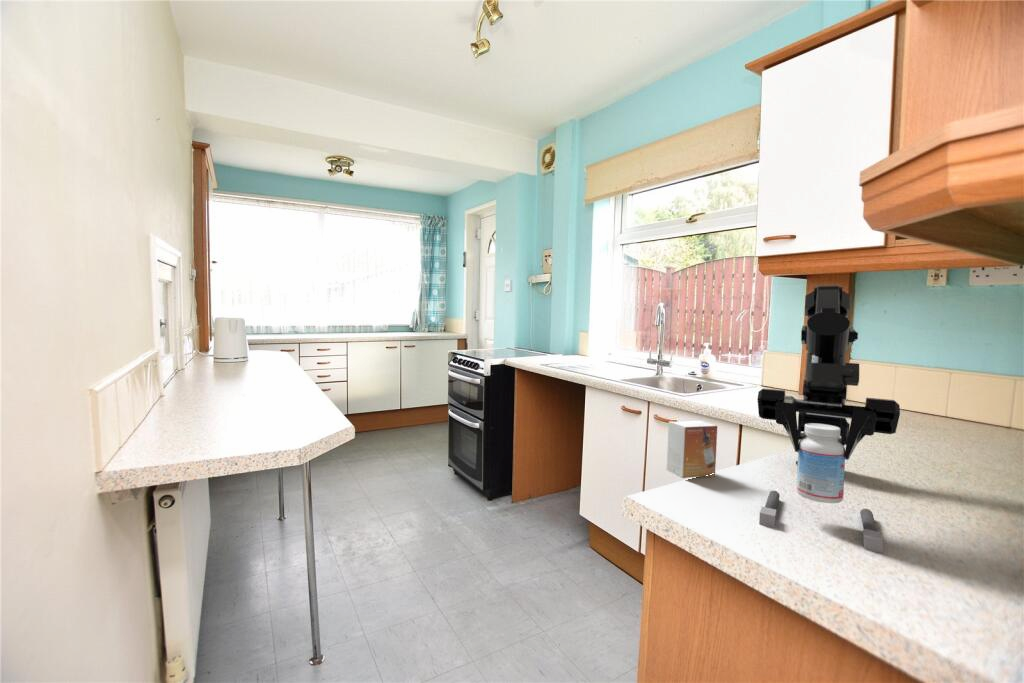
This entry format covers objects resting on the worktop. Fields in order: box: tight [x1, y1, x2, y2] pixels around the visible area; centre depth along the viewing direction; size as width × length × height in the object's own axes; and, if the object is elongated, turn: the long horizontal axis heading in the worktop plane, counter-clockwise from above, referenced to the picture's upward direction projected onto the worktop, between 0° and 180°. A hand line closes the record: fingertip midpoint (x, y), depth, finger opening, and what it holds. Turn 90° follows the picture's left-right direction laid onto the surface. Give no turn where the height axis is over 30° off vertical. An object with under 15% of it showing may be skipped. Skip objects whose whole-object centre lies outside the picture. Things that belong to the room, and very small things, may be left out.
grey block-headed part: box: [859, 508, 884, 554], centre depth 68 cm, size 13×2×2 cm, turn 145°
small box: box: [666, 419, 718, 479], centre depth 94 cm, size 8×6×10 cm
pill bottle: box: [796, 423, 846, 504], centre depth 71 cm, size 6×6×11 cm
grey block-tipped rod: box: [758, 490, 780, 528], centre depth 75 cm, size 13×2×2 cm, turn 145°
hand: (821, 454), depth 70 cm, fingers closed on pill bottle, 6 cm apart
